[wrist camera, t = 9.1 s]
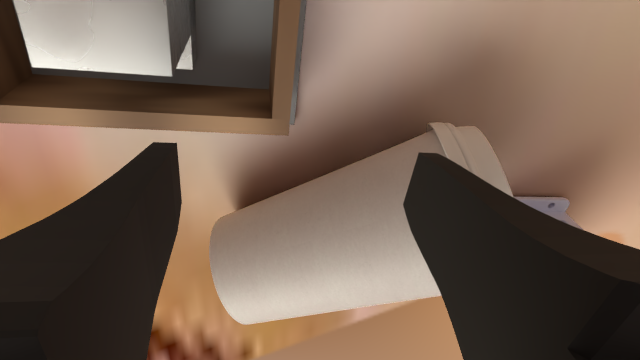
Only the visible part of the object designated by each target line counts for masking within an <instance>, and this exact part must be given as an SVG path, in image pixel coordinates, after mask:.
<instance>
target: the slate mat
mask: <svg viewBox="0 0 640 360" xmlns="http://www.w3.org/2000/svg"><path fill="white" fill-rule="evenodd" d="M12 3H13V6H14V10H15V13H16V17H17V21H18V24H19V28H20V31H21V35H22V38H23V42H24V46H25V49H26V53H27V56H28V60H29V63H30V67H31V71H32V74H40V75H55V76H71V77H86V78H101V79H116V80H132V81H147V82H162V83H178V84H193V85H208V86H224V87H239V88H254V89H269V79H270V61H271V44H272V27H273V9H274V0H195V13H196V35H197V58H196V61H195V64H194V67H193V70H190V69H175V71H174V74H173V76H172V77H171V76H156V75H142V74H127V73H112V72H98V71H83V70H69V69H54V68H39V67H32V65H31V62H30V58H29V54H28V51H27V47H26V44H25V40H24V36H23V33H22V29H21V26H20V22H19V18H18V15H17V11H16V8H15V4H14V1H13V0H12ZM305 10H306V0H301V4H300V15H299V25H298V36H297V47H296V58H295V69H294V80H293V90H292V101H291V112H290V123H289V124H291V125H294V121H295V111H296V101H297V91H298V81H299V71H300V61H301V51H302V40H303V30H304V20H305Z"/></svg>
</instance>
